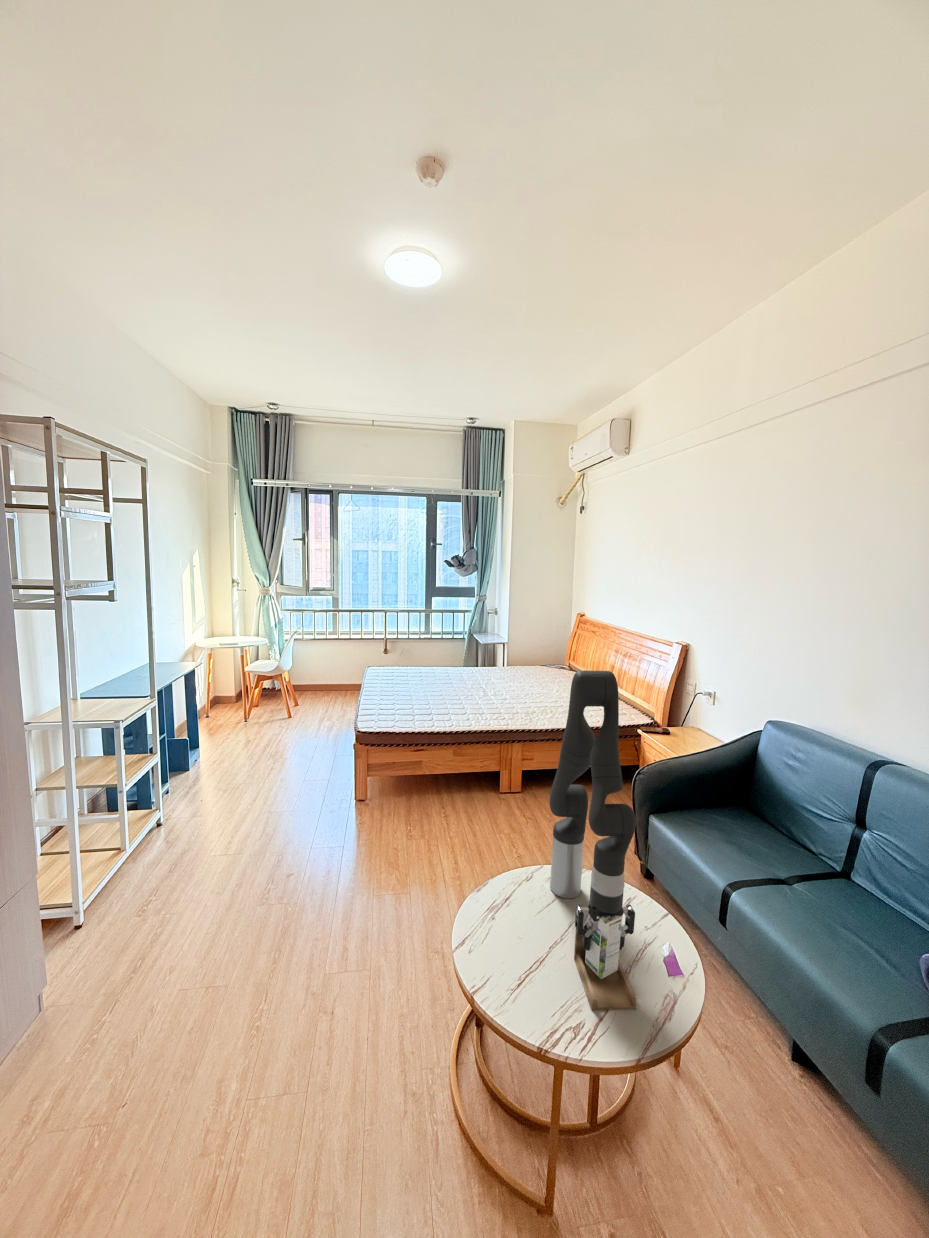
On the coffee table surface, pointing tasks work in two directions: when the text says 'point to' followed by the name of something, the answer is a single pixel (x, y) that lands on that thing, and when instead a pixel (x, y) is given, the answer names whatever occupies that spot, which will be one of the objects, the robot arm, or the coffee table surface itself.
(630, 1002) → the book rack
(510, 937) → the coffee table surface
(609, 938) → the syrup box
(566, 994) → the coffee table surface
